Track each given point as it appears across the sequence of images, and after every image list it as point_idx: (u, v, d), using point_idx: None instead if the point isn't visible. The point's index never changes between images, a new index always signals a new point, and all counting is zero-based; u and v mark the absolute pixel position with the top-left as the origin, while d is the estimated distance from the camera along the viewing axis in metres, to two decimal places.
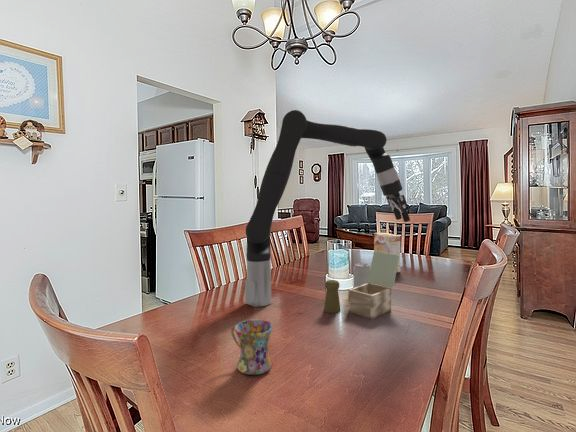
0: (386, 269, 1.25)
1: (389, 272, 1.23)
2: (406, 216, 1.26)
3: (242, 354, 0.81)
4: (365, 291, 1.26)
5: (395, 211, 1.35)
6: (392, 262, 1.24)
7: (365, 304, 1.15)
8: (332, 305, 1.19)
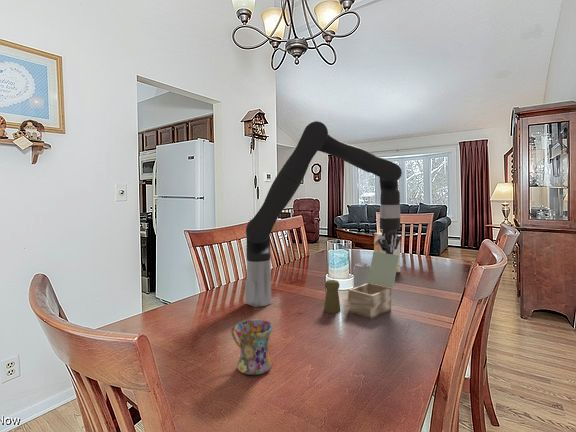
0: (386, 269, 1.24)
1: (389, 272, 1.23)
2: None
3: (242, 354, 0.81)
4: (365, 291, 1.26)
5: None
6: (392, 262, 1.24)
7: (365, 304, 1.15)
8: (332, 305, 1.19)
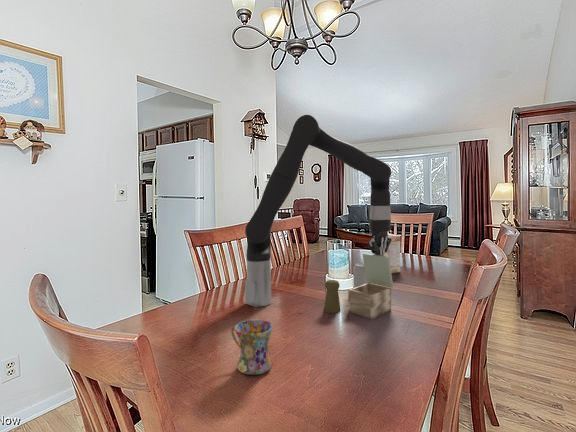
0: (380, 270, 1.22)
1: (384, 274, 1.21)
2: None
3: (242, 354, 0.81)
4: (365, 291, 1.26)
5: None
6: (384, 264, 1.20)
7: (365, 304, 1.15)
8: (332, 305, 1.19)
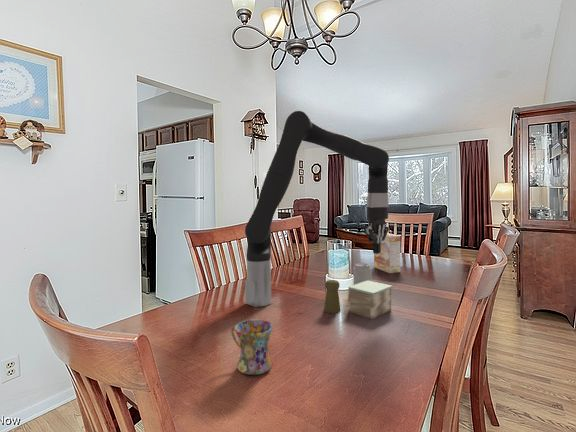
0: None
1: None
2: (374, 248, 1.21)
3: (242, 354, 0.81)
4: None
5: None
6: None
7: (365, 304, 1.15)
8: (332, 305, 1.19)
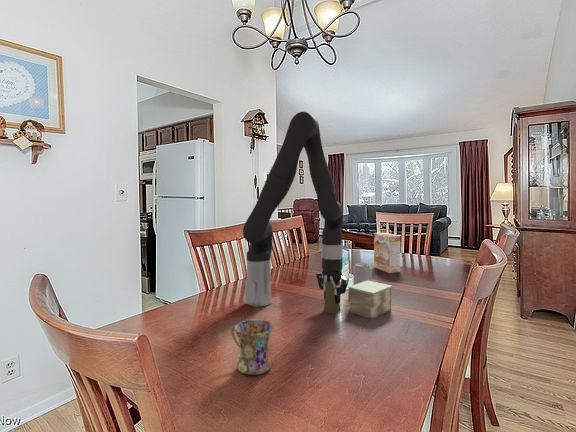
0: None
1: None
2: (339, 299, 1.20)
3: (242, 354, 0.81)
4: None
5: None
6: None
7: (365, 304, 1.15)
8: (332, 305, 1.19)
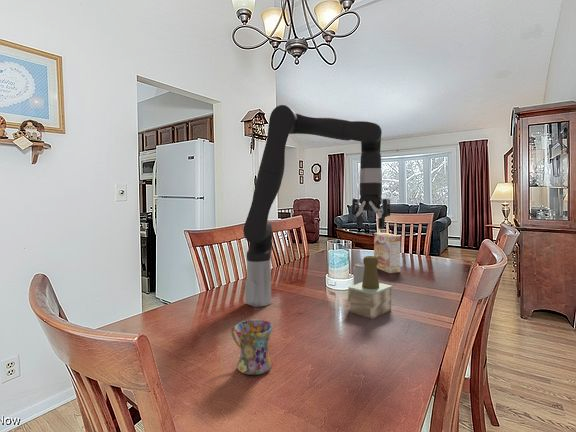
0: None
1: None
2: (383, 223, 1.15)
3: (242, 354, 0.81)
4: None
5: (360, 217, 1.21)
6: None
7: (365, 304, 1.15)
8: (371, 281, 1.17)
